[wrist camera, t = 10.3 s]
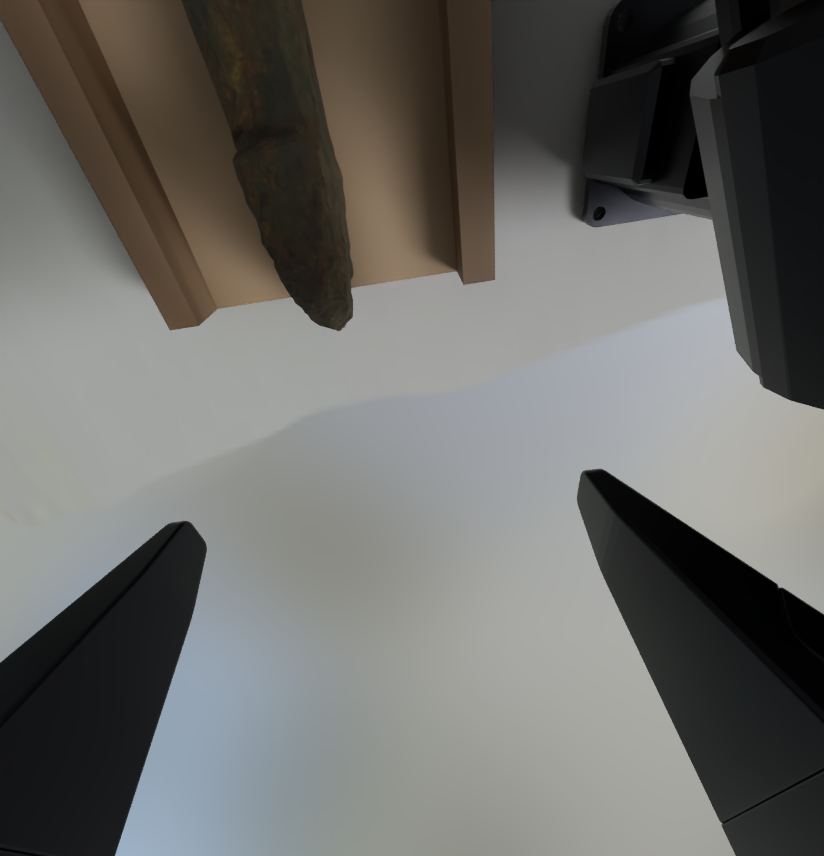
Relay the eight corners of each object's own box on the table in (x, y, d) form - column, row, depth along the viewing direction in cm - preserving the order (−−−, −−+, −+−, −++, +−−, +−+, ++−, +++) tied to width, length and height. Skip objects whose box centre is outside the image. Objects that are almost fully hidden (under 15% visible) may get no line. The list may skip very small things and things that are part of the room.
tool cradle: (449, -724, 7) (477, -1189, 5) (480, 260, 17) (495, 279, 15) (-196, -531, 8) (-471, -845, 5) (200, 305, 18) (170, 330, 15)
